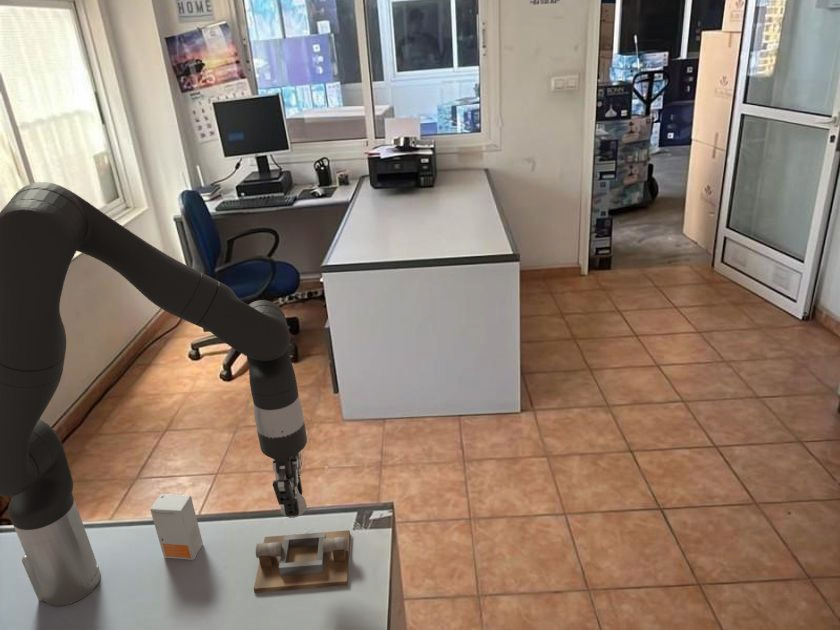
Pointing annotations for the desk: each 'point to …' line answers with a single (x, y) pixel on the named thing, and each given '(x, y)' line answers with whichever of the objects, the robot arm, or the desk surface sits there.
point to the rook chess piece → (301, 504)
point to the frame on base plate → (303, 561)
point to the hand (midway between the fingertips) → (294, 504)
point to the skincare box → (176, 526)
